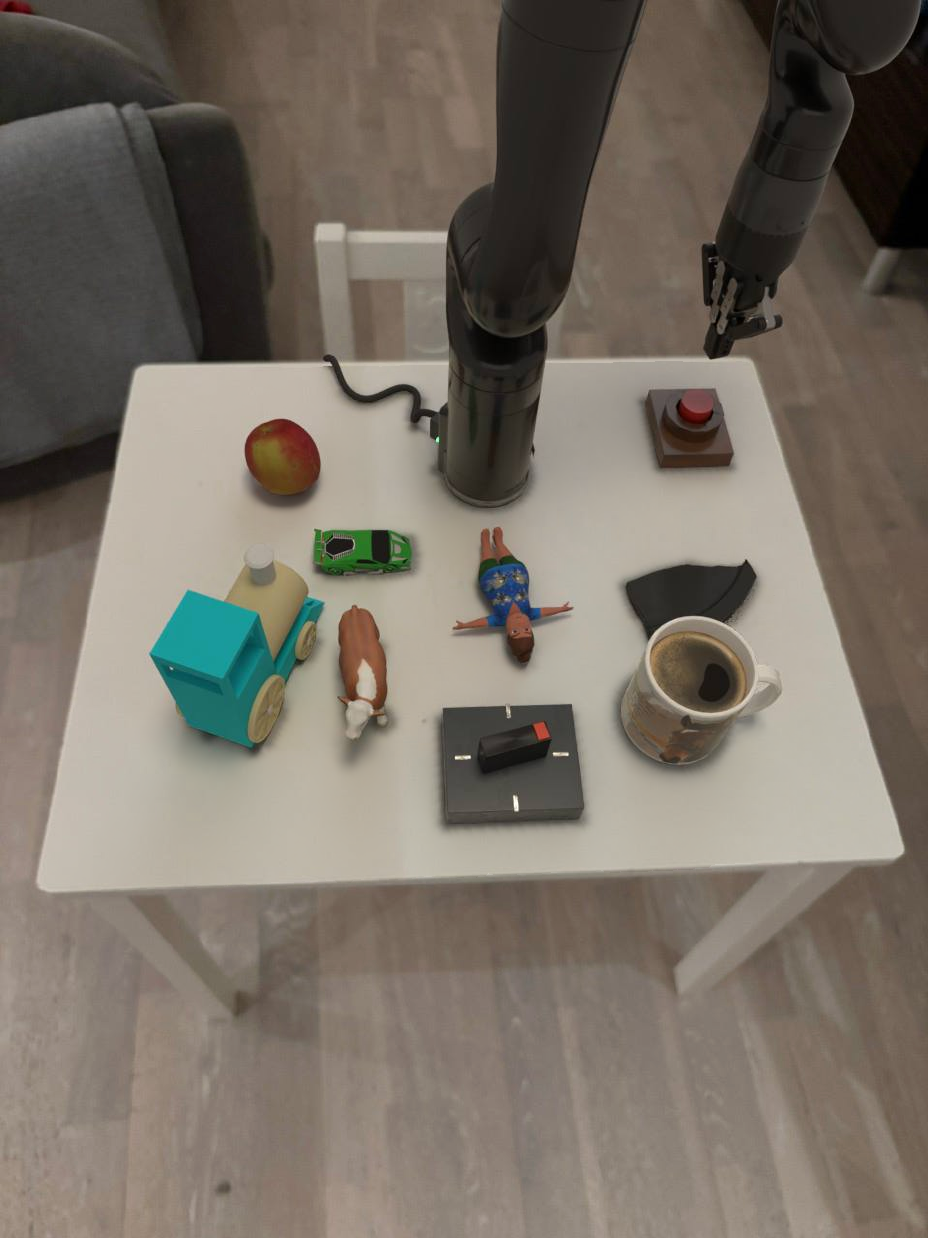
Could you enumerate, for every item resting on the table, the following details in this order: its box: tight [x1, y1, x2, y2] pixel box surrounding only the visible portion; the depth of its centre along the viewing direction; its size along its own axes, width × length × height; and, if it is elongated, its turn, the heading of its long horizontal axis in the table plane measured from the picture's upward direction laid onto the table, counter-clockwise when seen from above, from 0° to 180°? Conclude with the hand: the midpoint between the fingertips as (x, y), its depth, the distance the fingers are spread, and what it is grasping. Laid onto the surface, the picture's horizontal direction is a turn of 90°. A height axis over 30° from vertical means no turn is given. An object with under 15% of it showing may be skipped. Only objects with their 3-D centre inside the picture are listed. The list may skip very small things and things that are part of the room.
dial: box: [477, 721, 552, 774], centre depth 79 cm, size 6×2×4 cm, turn 107°
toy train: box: [148, 543, 326, 748], centre depth 81 cm, size 8×17×15 cm, turn 161°
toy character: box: [452, 526, 575, 664], centre depth 90 cm, size 12×5×15 cm
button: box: [678, 390, 714, 424], centre depth 101 cm, size 4×4×2 cm
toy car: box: [312, 528, 413, 576], centre depth 94 cm, size 10×5×2 cm, turn 94°
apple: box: [243, 418, 322, 496], centre depth 96 cm, size 8×8×8 cm
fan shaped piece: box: [625, 558, 758, 636], centre depth 93 cm, size 8×14×2 cm, turn 108°
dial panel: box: [441, 703, 585, 824], centre depth 82 cm, size 12×10×3 cm
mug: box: [620, 616, 783, 766], centre depth 82 cm, size 10×12×11 cm
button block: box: [644, 387, 735, 469], centre depth 103 cm, size 10×8×4 cm
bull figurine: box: [337, 604, 389, 741], centre depth 83 cm, size 4×13×8 cm, turn 4°
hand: (714, 353), depth 95 cm, fingers closed
